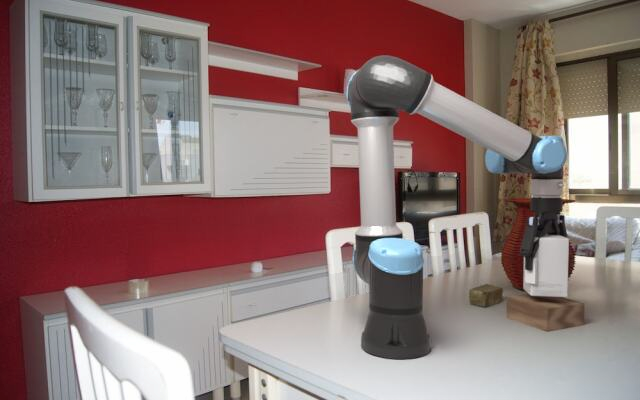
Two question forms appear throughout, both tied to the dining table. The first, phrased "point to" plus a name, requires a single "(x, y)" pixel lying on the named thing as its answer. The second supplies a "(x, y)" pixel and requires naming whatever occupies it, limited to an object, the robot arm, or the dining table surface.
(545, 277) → the supplement box
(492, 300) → the stone block
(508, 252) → the vase
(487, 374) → the dining table surface
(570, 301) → the walnut base block
